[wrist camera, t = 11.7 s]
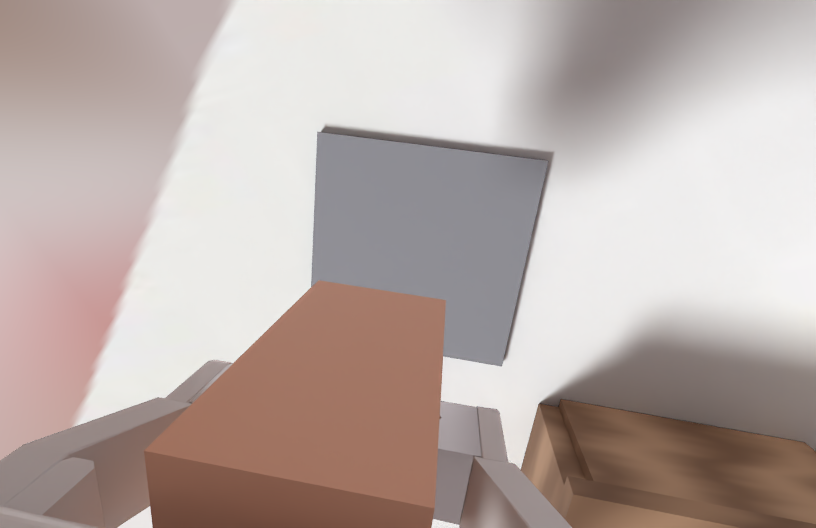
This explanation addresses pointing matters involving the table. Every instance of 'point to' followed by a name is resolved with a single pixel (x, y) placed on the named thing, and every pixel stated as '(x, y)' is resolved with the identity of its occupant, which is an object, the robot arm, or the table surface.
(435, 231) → the mat
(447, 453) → the robot arm
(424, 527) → the block
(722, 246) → the table surface
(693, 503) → the access box
